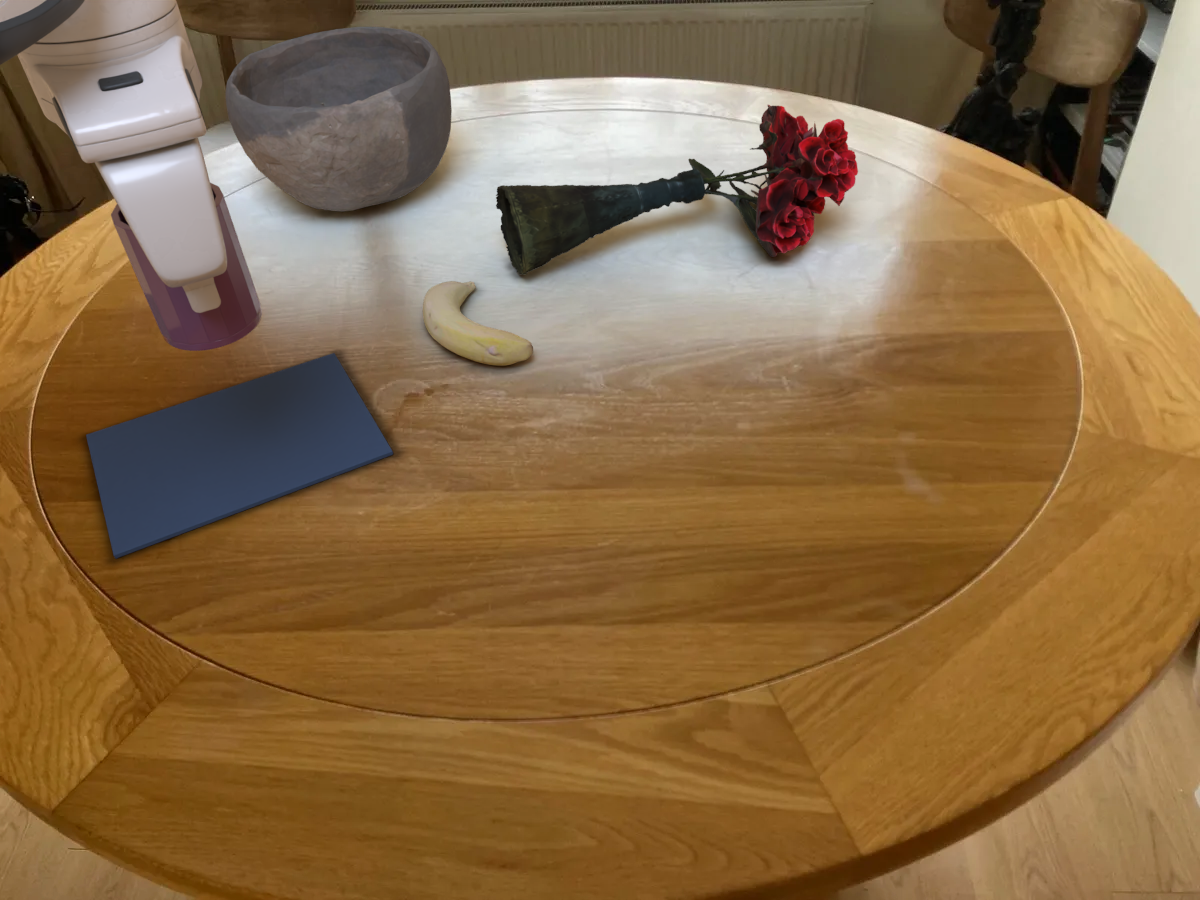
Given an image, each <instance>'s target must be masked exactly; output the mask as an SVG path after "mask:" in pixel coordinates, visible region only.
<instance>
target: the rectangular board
mask: <svg viewBox="0 0 1200 900" xmlns="http://www.w3.org/2000/svg"><path fill="white" fill-rule="evenodd" d="M383 434H384V433H382V431H381V429H380V427H379V426H378V424H377V422H376V420H375V419H374V418H373V416H372V414H371V412H370V410H369V408H368V407H367V404H366V403H365V402H364V401H363V399H362V397H361V395H360V393H359V392H358V390H357V389H356V387H355V385H354V383H353V382H352V380H351V379H350V376H349V375H348V374H347V371H346V370H345V368H344V366H343V365H342V363H341V362H340V360H339V358H338V357H337V355H336V353H335V352H332V353H329V354H326V355H323V356H320V357H317V358H314V359H311V360H309V361H305V362H302V363H299V364H296V365H293V366H289V367H286V368H284V369H281V370H278V371H275V372H272V373H268V374H266V375H263V376H260V377H259V376H258V377H257V378H253V379H251V380H248V381H244V382H241V383H239V384H235V385H233V386H229V387H225V388H223V389H220V390H217V391H213V392H211V393H208V394H206V395H202V396H200V397H196V398H193V399H190V400H187V401H185V402H182V403H178V404H175V405H172V406H169V407H165V408H163V409H160V410H157V411H153V412H150V413H148V414H144V415H142V416H139V417H136V418H133V419H130V420H126V421H124V422H120V423H118V424H114V425H111V426H107V427H106V428H102V429H99V430H96V431H93V432H90V433H87V434H85V437H86V441H87V446H88V449H89V454H90V458H91V463H92V467H93V472H94V476H95V480H96V485H97V489H98V490H97V491H98V494H99V497H100V502H101V507H102V511H103V515H104V520H105V524H106V529H107V532H108V537H109V541H110V546H111V550H112V555H113V557H114V559H118V558H121V557H124V556H127V555H130V554H132V553H135V552H138V551H140V550H143V549H146V548H148V547H150V546H153V545H156V544H159V543H162V542H164V541H167V540H169V539H173V538H175V537H178V536H180V535H184V534H185V533H188V532H191V531H194V530H197V529H199V528H201V527H204V526H206V525H210V524H213V523H215V522H217V521H220V520H222V519H225V518H228V517H231V516H233V515H236V514H238V513H242V512H244V511H247V510H249V509H250V510H251V509H252V508H255V507H257V506H260V505H263V504H266V503H268V502H272V501H273V500H276V499H278V498H279V499H280V498H282V497H284V496H287V495H290V494H292V493H294V492H297V491H300V490H303V489H305V488H308V487H311V486H313V485H316V484H318V483H319V484H320V483H321V482H324V481H327V480H329V479H331V478H334V477H337V476H340V475H343V474H346V473H348V472H352V471H353V470H354V471H355V470H356V469H358V468H359V469H360V468H362V467H364V466H367V465H369V464H372V463H375V462H378V461H380V460H382V459H386V458H388V457H390V456H394V450H393V449H392V448H391V446H390V444H389V442H388V441H387V439H386V437H385V436H384V435H383Z"/></svg>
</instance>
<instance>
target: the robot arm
mask: <svg viewBox="0 0 1200 900" xmlns="http://www.w3.org/2000/svg"><path fill="white" fill-rule="evenodd" d="M16 56H17V57H18V59H19V62H20V64H21V66H22V69H23V71H24V73H25V75H26V78H27V80H28V82H29V85H30V87H31V89H32V91H33V93H34V95H35V97H36V100H37V103H38V104H39V106H40V109H41V111H42V113H43V115H44V116H45V118H46V119H47V120H48V121H50V122H52V123H54V124H56V125H57V126H58V127H59V129H61V131H62V132H64V133H65V134H66V135H67V136H68V138H69V139H70V141H71V142H72V144H73V146H74V149H75V151H76V152H77V153H78V155H79V157H80V158H81V160H82V162H84V163H86V164H93V163H94V164H95V166H96V168H97V170H98V172H99V173H100V176H101V177H102V179H103V181H104V183H105V185H106V187H107V188H108V190H109V192H110V193H111V195H112V197H113V199H114V201H115V202H116V205H117V204H118V206H119V208H120V210H121V212H122V213H123V215H124V217H125V219H126V221H127V223H128V224H129V226H130V228H131V230H132V232H133V233H134V235H135V237H136V239H137V241H138V242H139V244H140V246H141V248H142V250H143V251H144V253H145V255H146V257H147V258H148V260H149V262H150V264H151V265H152V267H153V268H154V270H155V271H156V273H157V275H158V276H159V277H160V279H161V280H162V281H163V282H164V283H165V284H166V285H167V286H168V287H171V288H175V287H181V286H182V287H183V289H184V291H185V293H186V295H187V298H188V300H189V303H190V305H191V307H192V310H194V311H195V312H197V313H202V312H205V311H209V310H212V309H216V308H218V307H219V306H220V304H221V299H220V297H219V294H218V291H217V288H216V286H215V283H214V277H215V276H218V275H221V274H223V273H224V272H225V271H226V268H227V256H226V249H225V243H224V239H223V234H222V230H221V226H220V222H219V217H218V213H217V209H216V205H215V201H214V197H213V192H212V188H211V184H210V183H211V181H210V177H209V173H208V168H207V165H206V160H205V157H204V154H203V153H204V152H203V149H202V146H201V144H200V143H201V142H200V140H199V138H201V137H204V136H206V134H207V127H206V124H205V123H206V121H205V118H204V114H203V112H202V111H203V110H202V108H201V105H200V100H201V89H202V86H203V79H202V78H203V77H202V76H201V72H200V69H199V66H198V63H197V59H196V56H195V54H194V51H193V48H192V44H191V42H190V39H189V35H188V33H187V30H186V27H185V23H184V21H183V18H182V14H181V11H180V9H179V5H178V2H177V0H0V66H1V65H3V64H5V63H7V62H8V61H10V60H11V59H13V58H15V57H16Z"/></svg>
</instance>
